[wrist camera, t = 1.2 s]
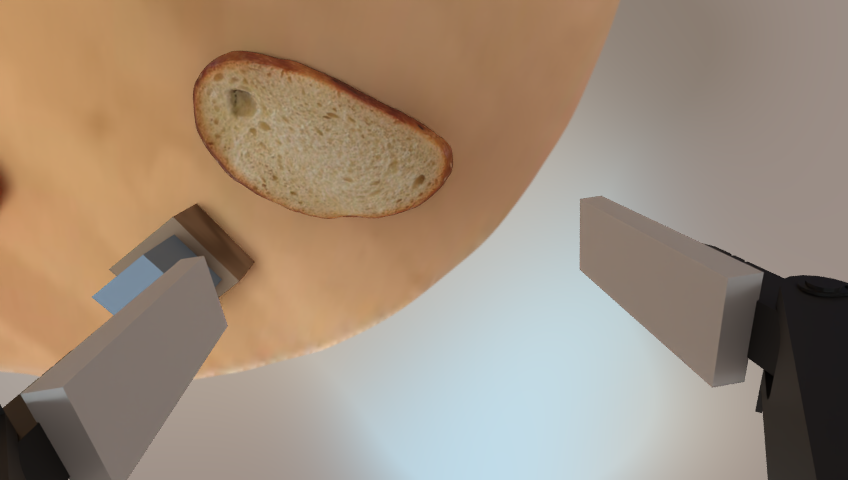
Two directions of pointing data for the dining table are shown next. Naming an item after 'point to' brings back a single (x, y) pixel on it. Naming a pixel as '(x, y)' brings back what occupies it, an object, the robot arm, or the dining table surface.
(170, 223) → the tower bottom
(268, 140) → the slice of bread
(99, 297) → the tower top
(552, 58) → the dining table surface
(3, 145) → the dining table surface
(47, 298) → the dining table surface
